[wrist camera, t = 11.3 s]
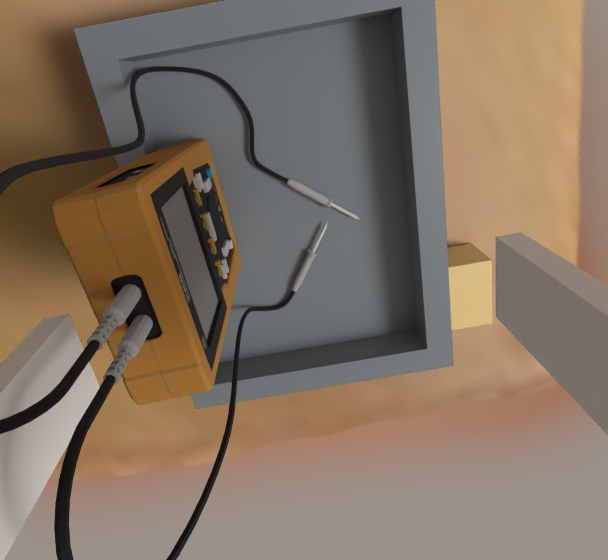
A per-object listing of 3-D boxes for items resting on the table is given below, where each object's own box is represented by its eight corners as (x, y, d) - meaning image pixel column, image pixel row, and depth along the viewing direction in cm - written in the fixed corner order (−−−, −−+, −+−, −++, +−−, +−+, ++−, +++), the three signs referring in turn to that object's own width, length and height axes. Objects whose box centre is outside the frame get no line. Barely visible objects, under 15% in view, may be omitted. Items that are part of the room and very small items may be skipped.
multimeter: (371, 289, 29) (533, 653, 10) (215, 322, 29) (101, 730, 11) (326, 25, 23) (506, -208, 5) (132, 71, 24) (-407, 22, 5)
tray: (203, 380, 32) (195, 409, 29) (97, 35, 23) (73, 28, 21) (473, 334, 31) (492, 359, 28) (462, -34, 23) (487, -50, 20)
